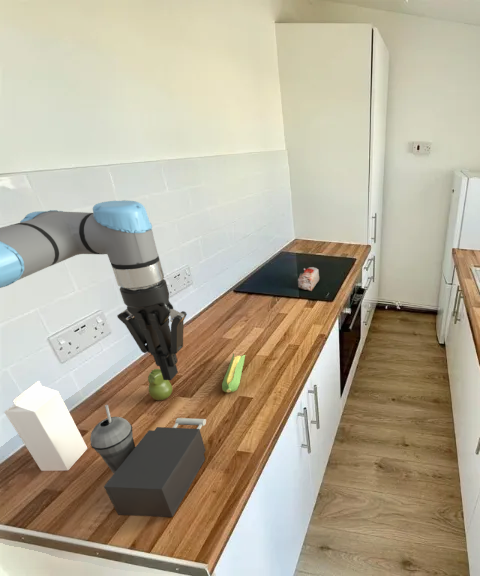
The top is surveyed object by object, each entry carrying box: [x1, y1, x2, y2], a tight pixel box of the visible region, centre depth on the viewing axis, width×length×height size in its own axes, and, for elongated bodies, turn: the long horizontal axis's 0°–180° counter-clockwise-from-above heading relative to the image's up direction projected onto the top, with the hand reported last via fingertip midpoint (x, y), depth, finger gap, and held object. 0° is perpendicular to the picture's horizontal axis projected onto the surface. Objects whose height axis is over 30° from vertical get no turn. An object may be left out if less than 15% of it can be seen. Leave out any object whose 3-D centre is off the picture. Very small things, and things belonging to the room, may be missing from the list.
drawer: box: [153, 417, 207, 454], centre depth 76 cm, size 18×10×8 cm, turn 179°
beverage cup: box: [89, 404, 136, 475], centre depth 72 cm, size 7×7×20 cm
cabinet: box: [103, 429, 206, 518], centre depth 72 cm, size 13×11×9 cm
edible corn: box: [221, 353, 246, 393], centre depth 106 cm, size 5×20×4 cm, turn 12°
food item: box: [297, 266, 320, 292], centre depth 168 cm, size 14×8×10 cm, turn 173°
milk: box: [4, 380, 88, 472], centre depth 73 cm, size 6×6×22 cm
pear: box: [147, 368, 173, 401], centre depth 95 cm, size 6×5×10 cm
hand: (170, 375), depth 74 cm, fingers closed
